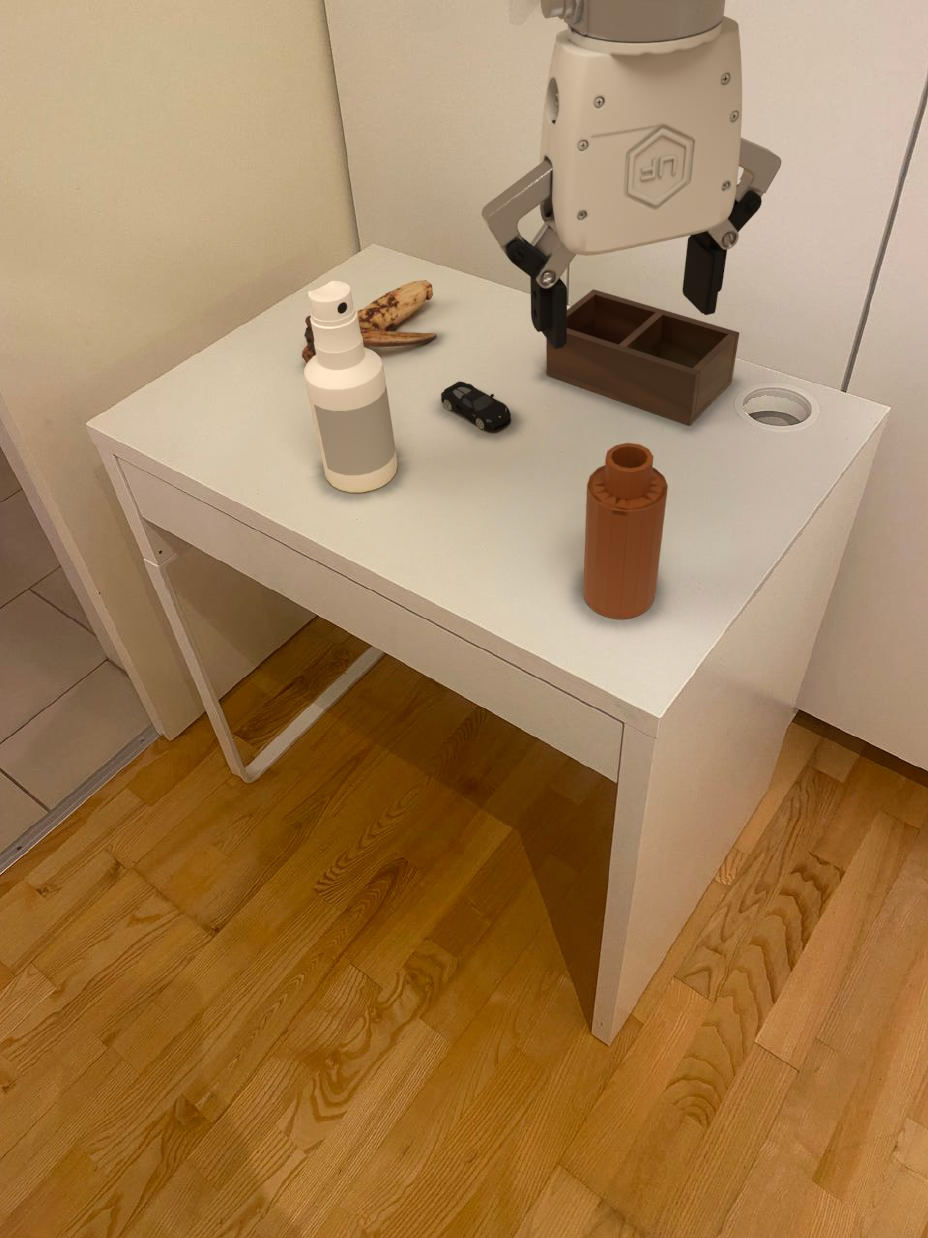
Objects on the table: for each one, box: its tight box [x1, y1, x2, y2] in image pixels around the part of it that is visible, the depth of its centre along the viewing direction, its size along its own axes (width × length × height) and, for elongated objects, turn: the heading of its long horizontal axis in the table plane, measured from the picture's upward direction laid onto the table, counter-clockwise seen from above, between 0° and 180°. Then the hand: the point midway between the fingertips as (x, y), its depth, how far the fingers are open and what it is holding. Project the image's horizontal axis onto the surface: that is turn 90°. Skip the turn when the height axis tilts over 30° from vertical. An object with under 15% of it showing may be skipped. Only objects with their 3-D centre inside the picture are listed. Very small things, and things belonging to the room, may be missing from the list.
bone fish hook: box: [301, 279, 438, 364], centre depth 103 cm, size 9×5×18 cm
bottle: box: [582, 442, 669, 620], centre depth 71 cm, size 6×6×14 cm
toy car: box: [440, 380, 512, 432], centre depth 93 cm, size 8×4×2 cm, turn 42°
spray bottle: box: [303, 280, 399, 493], centre depth 82 cm, size 7×7×18 cm
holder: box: [545, 289, 740, 427], centre depth 94 cm, size 9×16×6 cm, turn 52°
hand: (625, 320), depth 58 cm, fingers open, 9 cm apart
